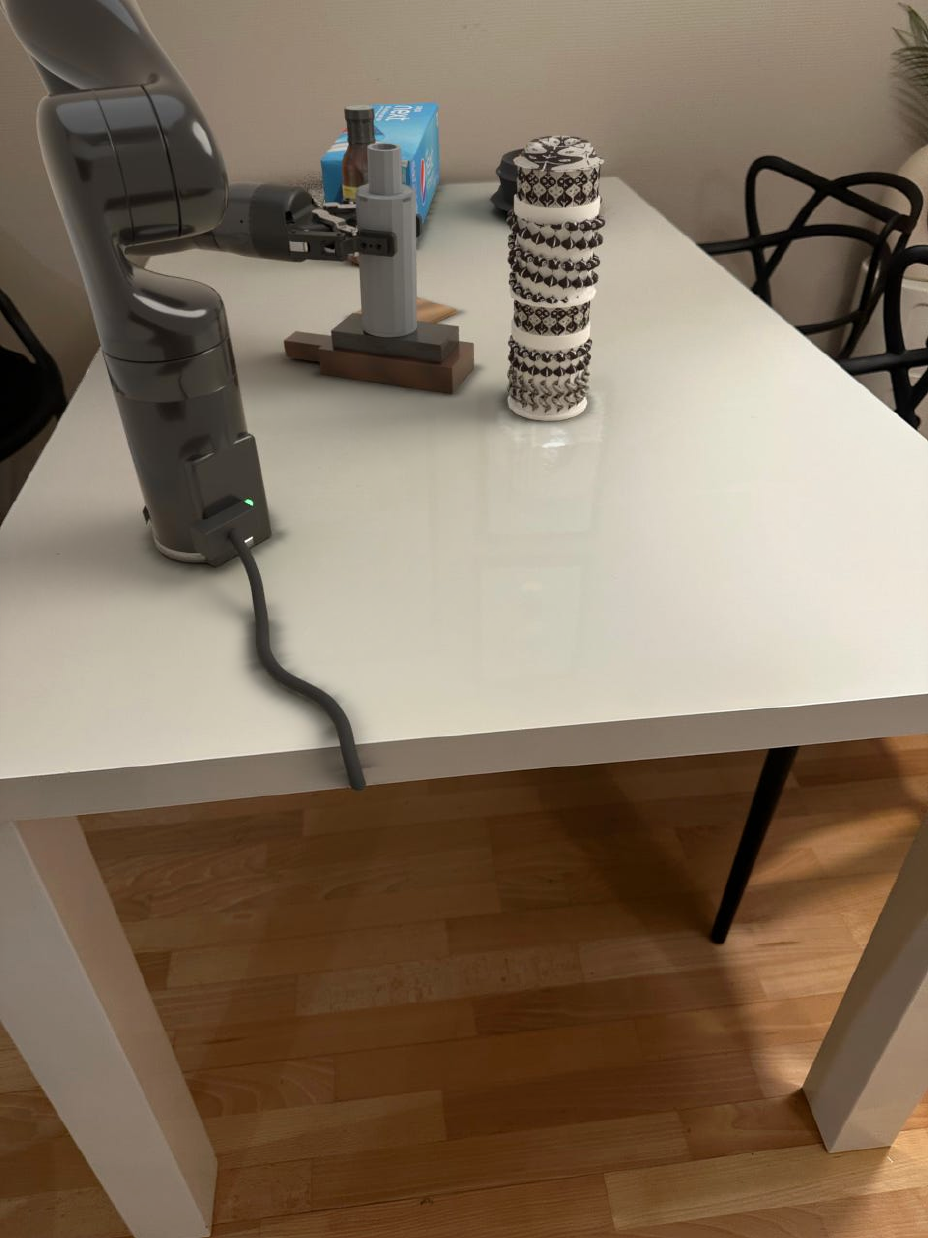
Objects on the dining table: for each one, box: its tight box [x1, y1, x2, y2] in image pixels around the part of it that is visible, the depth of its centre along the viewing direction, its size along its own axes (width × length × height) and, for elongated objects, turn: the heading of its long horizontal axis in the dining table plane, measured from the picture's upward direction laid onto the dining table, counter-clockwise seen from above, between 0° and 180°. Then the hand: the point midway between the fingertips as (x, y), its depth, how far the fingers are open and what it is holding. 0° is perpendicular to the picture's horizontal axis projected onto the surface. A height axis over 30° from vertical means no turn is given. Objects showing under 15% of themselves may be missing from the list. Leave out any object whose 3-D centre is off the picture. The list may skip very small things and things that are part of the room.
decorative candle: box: [505, 135, 606, 422], centre depth 87 cm, size 9×9×25 cm
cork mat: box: [355, 297, 457, 323], centre depth 115 cm, size 10×10×1 cm
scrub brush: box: [283, 312, 475, 394], centre depth 101 cm, size 22×7×5 cm, turn 70°
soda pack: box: [319, 102, 441, 242], centre depth 147 cm, size 40×14×13 cm, turn 175°
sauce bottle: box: [342, 104, 376, 265], centre depth 126 cm, size 6×6×20 cm
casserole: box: [490, 147, 603, 213], centre depth 148 cm, size 25×19×8 cm
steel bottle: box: [355, 143, 418, 337], centre depth 93 cm, size 6×6×18 cm
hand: (408, 234), depth 92 cm, fingers closed on steel bottle, 6 cm apart
